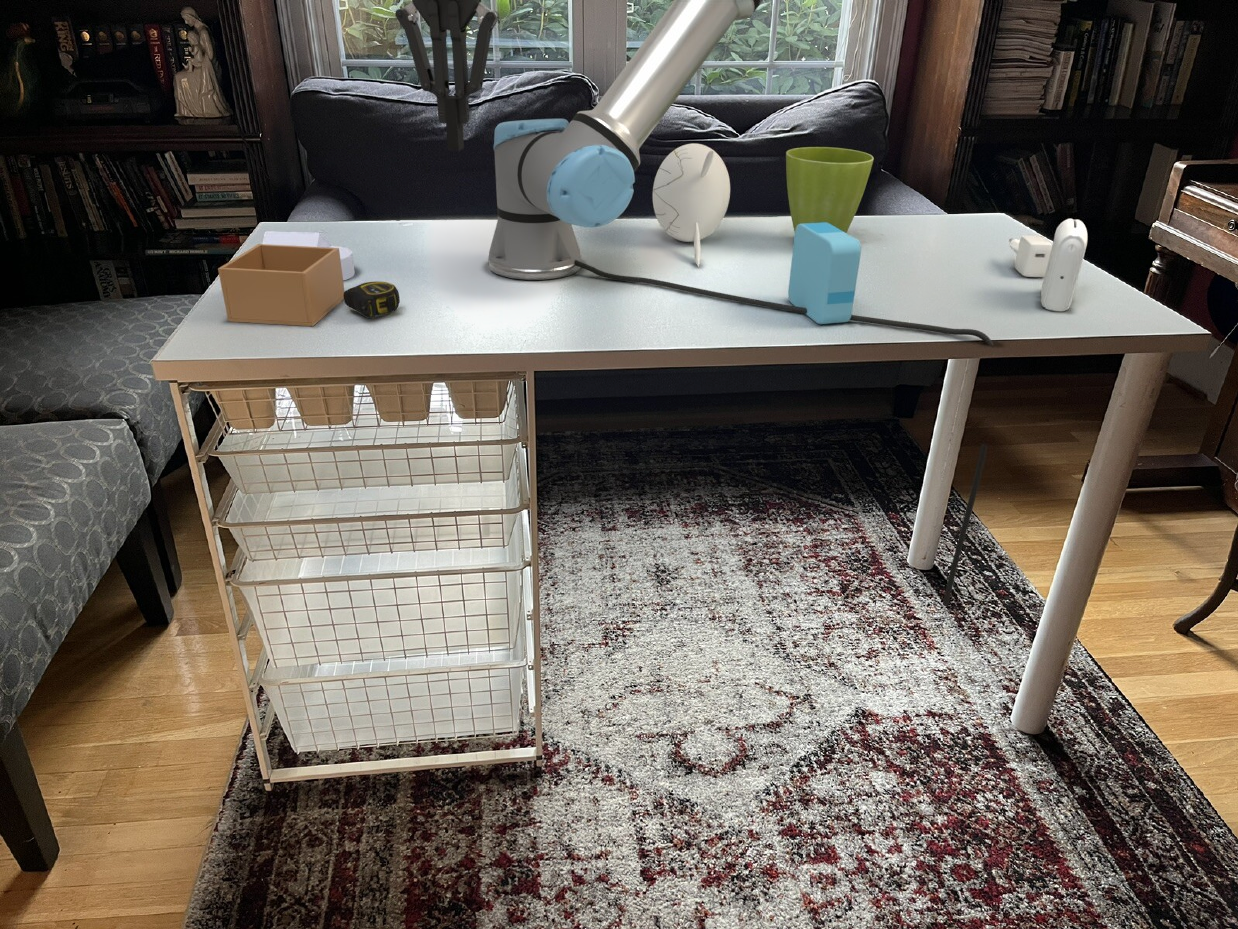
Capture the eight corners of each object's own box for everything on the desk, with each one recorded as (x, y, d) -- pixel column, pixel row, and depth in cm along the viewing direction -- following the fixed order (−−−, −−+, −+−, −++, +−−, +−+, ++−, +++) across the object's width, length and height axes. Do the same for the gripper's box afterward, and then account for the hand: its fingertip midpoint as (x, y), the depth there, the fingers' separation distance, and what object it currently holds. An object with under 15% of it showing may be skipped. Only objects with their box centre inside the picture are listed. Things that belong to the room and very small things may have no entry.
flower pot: (799, 230, 175) (809, 143, 168) (873, 244, 168) (887, 153, 160) (762, 247, 165) (771, 154, 157) (839, 262, 157) (852, 166, 149)
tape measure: (343, 311, 132) (340, 285, 130) (387, 301, 136) (384, 277, 134) (364, 324, 127) (361, 298, 125) (409, 314, 131) (406, 289, 129)
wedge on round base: (262, 282, 142) (345, 284, 142) (254, 239, 139) (340, 241, 139) (281, 264, 150) (361, 266, 150) (275, 223, 147) (356, 225, 147)
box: (345, 297, 137) (339, 247, 133) (313, 326, 126) (305, 273, 123) (266, 293, 138) (258, 243, 134) (228, 321, 127) (217, 268, 124)
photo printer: (1070, 313, 137) (1093, 230, 131) (1039, 309, 138) (1060, 227, 132) (1068, 293, 145) (1089, 214, 139) (1039, 289, 147) (1058, 211, 140)
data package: (850, 325, 131) (863, 241, 125) (821, 327, 130) (833, 243, 124) (813, 298, 141) (823, 219, 135) (786, 300, 140) (795, 221, 134)
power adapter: (999, 258, 161) (1007, 225, 159) (1027, 259, 161) (1035, 226, 158) (1019, 278, 152) (1028, 242, 149) (1049, 279, 151) (1058, 243, 149)
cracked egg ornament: (654, 137, 169) (665, 143, 146) (728, 145, 170) (750, 151, 147) (643, 242, 176) (652, 263, 152) (714, 248, 177) (734, 270, 153)
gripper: (380, -56, 108) (399, 152, 120) (488, -54, 107) (497, 156, 119) (400, -55, 115) (416, 142, 126) (502, -53, 114) (510, 145, 125)
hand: (456, 148), depth 122 cm, fingers closed
